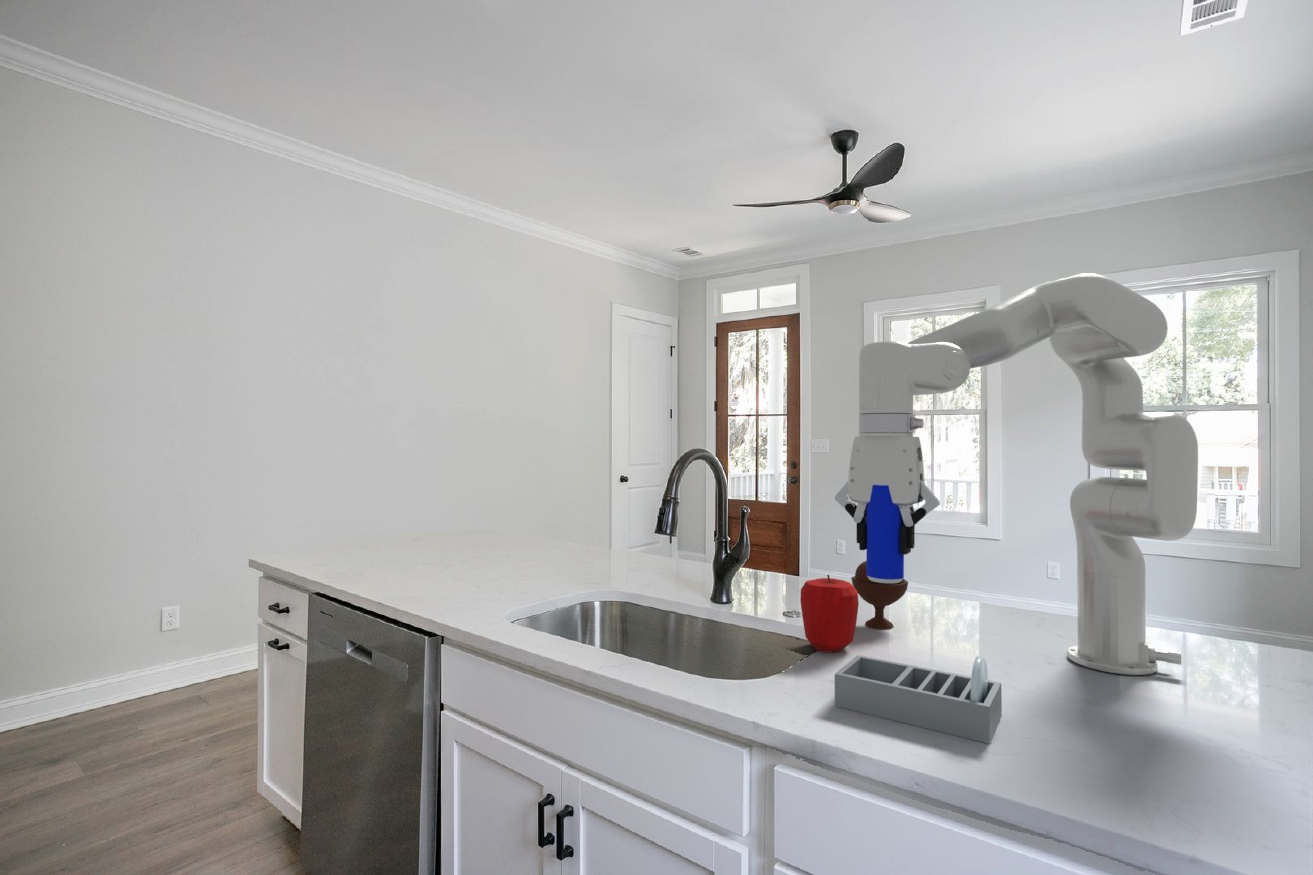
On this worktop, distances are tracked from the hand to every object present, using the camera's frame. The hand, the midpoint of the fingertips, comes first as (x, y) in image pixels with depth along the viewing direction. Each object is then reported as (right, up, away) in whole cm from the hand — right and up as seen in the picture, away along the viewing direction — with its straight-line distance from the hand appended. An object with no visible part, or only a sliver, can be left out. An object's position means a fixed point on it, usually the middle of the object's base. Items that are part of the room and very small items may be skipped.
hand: (884, 549), depth 95 cm
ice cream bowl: (+12, -22, +38) cm, 46 cm away
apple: (-2, -22, +24) cm, 33 cm away
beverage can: (0, -5, 0) cm, 5 cm away
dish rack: (+3, -22, -4) cm, 23 cm away
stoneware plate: (+10, -21, -8) cm, 25 cm away
